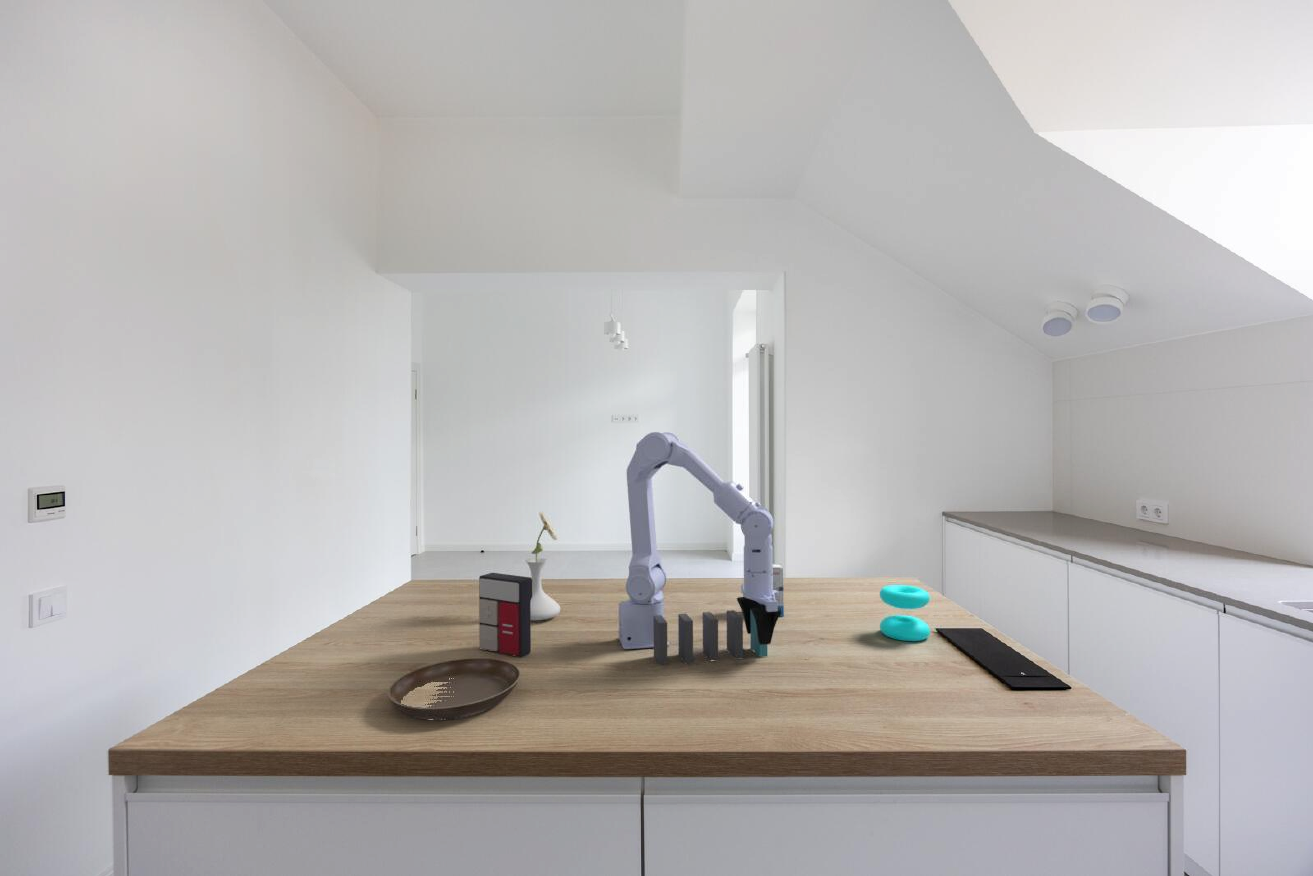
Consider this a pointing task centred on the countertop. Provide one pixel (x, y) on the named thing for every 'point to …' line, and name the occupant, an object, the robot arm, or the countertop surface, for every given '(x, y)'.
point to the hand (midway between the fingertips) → (758, 638)
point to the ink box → (778, 586)
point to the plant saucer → (458, 687)
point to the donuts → (902, 624)
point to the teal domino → (756, 639)
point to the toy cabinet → (505, 613)
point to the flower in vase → (540, 601)
